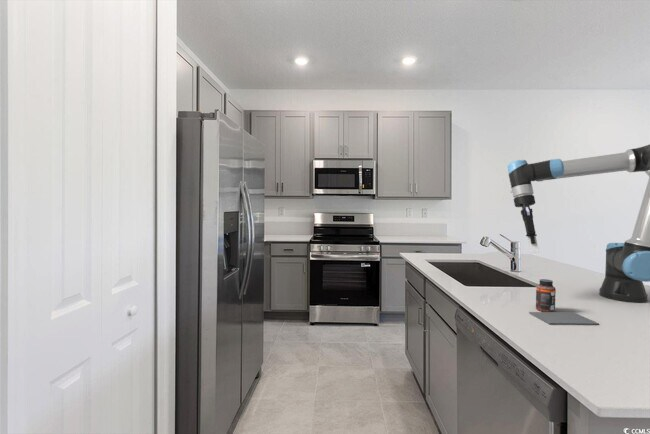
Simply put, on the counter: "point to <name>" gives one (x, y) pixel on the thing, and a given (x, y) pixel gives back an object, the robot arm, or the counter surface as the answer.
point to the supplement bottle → (545, 296)
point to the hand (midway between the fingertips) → (534, 252)
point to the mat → (563, 318)
